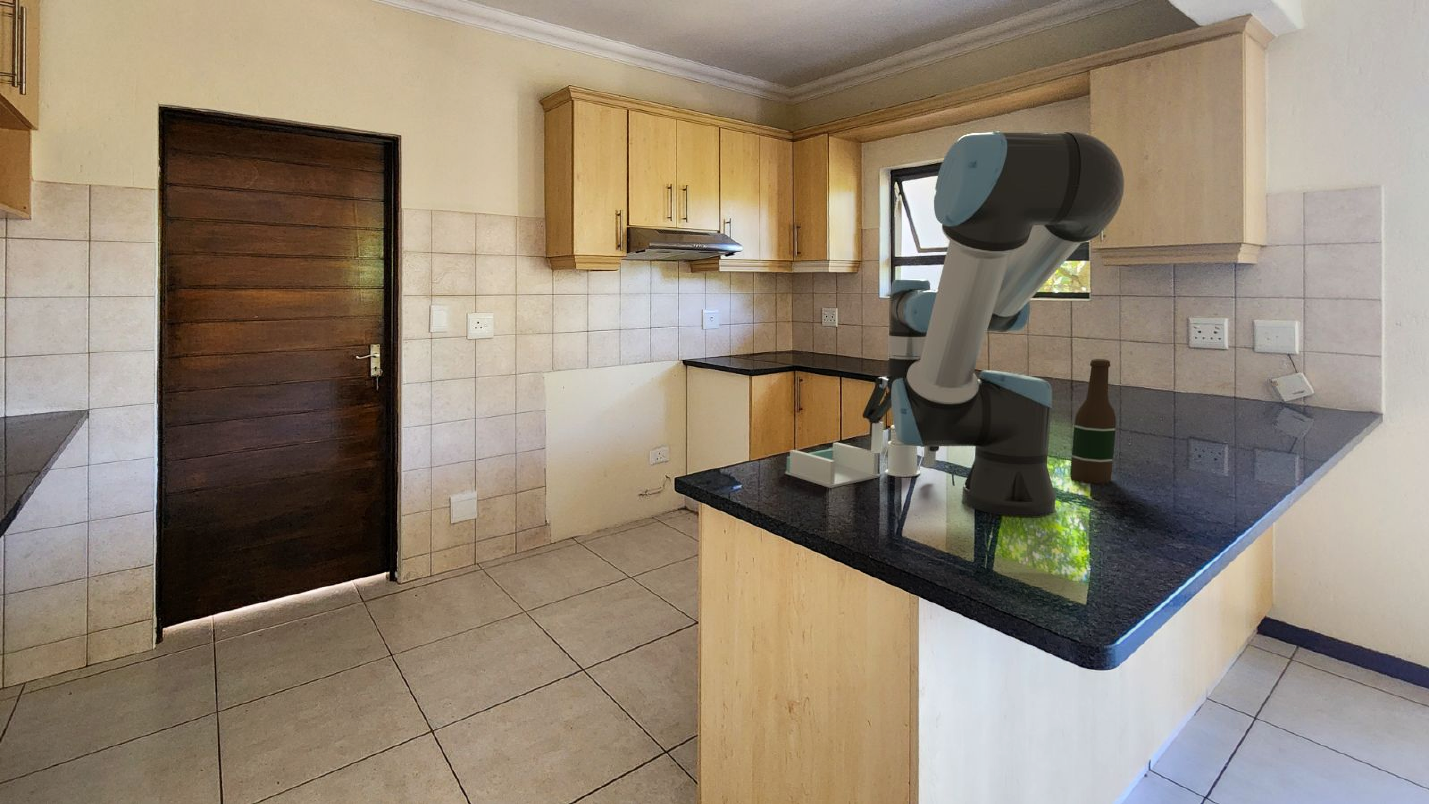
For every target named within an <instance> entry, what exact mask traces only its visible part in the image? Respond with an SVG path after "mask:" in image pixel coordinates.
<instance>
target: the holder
mask: <svg viewBox="0 0 1429 804" xmlns="http://www.w3.org/2000/svg"><path fill="white" fill-rule="evenodd" d="M878 471H879V453H878V452H874V451H871V449H865V448H862V447H856V446H854V445H853V446H852V445H850V444H845V443H841V442H833V443H832V448H828V449H822V450H817V451H812V452H804V451H801V450H796V449H792V450H791V449H790V450H789V456H786V470H785V472H784V473H785V475H789V476H791V477H794V478H799V479H801V480H805V481H808V482H810V483H814V484H817V485H821V486H823V487H826V488H829V489H832V488H837V487H842V486H846V485H850V484H854V483H859V482H860V483H861V482H863V481H868V480H872V479H876V478H880V477H881V474H879V473H878Z"/></svg>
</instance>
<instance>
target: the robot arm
mask: <svg viewBox="0 0 1429 804" xmlns="http://www.w3.org/2000/svg"><path fill="white" fill-rule="evenodd" d="M1124 177H1125V176H1124V172H1123V168H1122V165H1121V163H1120V161H1119V159H1118V156H1117V155H1116V154H1115V152H1114V151H1113V150H1112V149H1111V148H1110V147H1109V146H1108V145H1107V144H1106V143H1105V142H1103V141H1101V140H1100V139H1099V138H1097V137H1095V136H1093V135H1089V134H1087V133H1084V132H1083V133H1082V132H1077V131H1075V132H1073V131H1072V132H1071V131H1065V132H1001V131H998V130H997V131H996V130H992V131H988V132H983V133H970V134H969V133H968V134H966V135H962V136H961V137H960V138H958V139H957V140H956V141H955V142H953V144H952V145H951V146H950V148H949V149H948V151H947V152H946V153H945V156H944V158H943V161H942V162H941V165H940V168H939V170H938V175H937V178H936V182H935V187H934V189H935V195H934V198H933V210H934V217H935V218H936V220H937V221H938V223H940V224H942V225H941V230H942V233H943V235H944V236H945V237H946V239H948V246H947V250H946V253H945V254H946V255H945V258H944V260H943V261H944V263H943V267H942V270H941V274H940V278H939V281H938V282H939V283H938V287H937V289H931V283H930V281H929V279H920V278H919V279H913V278H912V279H910V278H909V279H906V278H905V279H904V278H903V279H901V278H900V279H894V280H893V281H892V282H891V289H890V294H889V304H890V305H889V322H888V323H889V329H888V331H889V332H888V344H887V345H888V346H887V354H888V355H889V356H890V357H888V358H887V367H886V368H887V369H886V373H887V375H888V377H887V376H880V377H876V379H875V381H874V382H875V384H874V388H873V391H872V393H871V395H870V397H869V399H868V401H867V403H866V406H865V408H864V410H863V412H862V418H863V419H867V421H868V422H869V437H870V438H871V448H870V451H874V452H878V454H880V453H883V446H884V445H883V442H884V440H883V439H884V422H883V418H884V417H885V416H886V414H887V413H888V412H889V411H890V410H891V413H892V422H893V425H894V427H895V431H896V435H897V437H898V439H899V441H900V442H901V443H903V444H905V445H911V446H917V447H920V448H923V449H924V450H923V464H922V465H923V466H922V467H923V468H926V469H928V468H931V467H932V468H933V467H935V466H936V458H937V457H936V456H937V454H936V453H937V452H938V451H939V450H940V447H975V450H974V451H975V453H974V454H975V455H974V456H975V457H974V460H973V463H972V465H971V467H970V470H969V472H968V475H967V476H966V479H965V481H964V484H963V485H962V486H963V487H962V492H961V493H962V494H961V501H962V502H963V504H964V505H966V506H968V507H969V508H972V509H974V510H978V511H979V512H980V511H981V512H984V513H989V514H993V515H999V516H1006V517H1015V518H1016V517H1017V518H1036V517H1043V516H1047V515H1050V514H1052V513H1054V512H1055V510H1056V493H1055V490H1054V486H1053V483H1052V479H1051V475H1050V472H1049V468H1048V456H1049V455H1048V453H1049V445H1050V431H1051V420H1052V410H1053V408H1054V407H1053V388H1052V386H1051V384H1050V383H1049V382H1048V381H1047V380H1044V379H1042V378H1038V377H1034V376H1029V375H1023V374H1018V373H1012V372H1004V371H999V370H988V369H987V370H986V369H985V370H981V371H980V372H979V373H980V374H978V376H977V375H976V373H975V369H976V367H977V362H978V360H979V358H980V357H979V356H980V353H981V350H982V348H983V344H984V340H985V339H986V338H985V337H986V334H987V332H998V333H1005V332H1016V331H1020V330H1023V329H1024V327H1025V326H1026V325H1027V323H1028V319H1029V317H1030V313H1031V303H1030V300H1031V299H1032V298H1033V297H1034V296H1035V295H1036V294H1037V293H1038V291H1040V289H1041V288H1042V287H1043V286H1044V285H1045V284H1046V283H1047V282H1048V280H1049V279H1051V277H1052V276H1053V275H1054V274H1055V273H1056V272H1057V270H1058V269H1060V267H1061V266H1062V265H1063V264H1064V263H1065V262H1066V261H1067V259H1068V258H1070V256H1072V254H1073V253H1074V252H1075V251H1076V250H1077V249H1078V247H1079V246H1080V245H1081V244H1083V243H1086V242H1090V241H1092V240H1093V239H1096V238H1097V237H1098V236H1100V234H1101V233H1102V232H1103V231H1104V230H1105V229H1106V228H1107V227H1108V226H1109V225H1110V223H1111V222H1112V220H1114V218H1115V216H1116V214H1117V212H1118V210H1119V208H1120V206H1121V203H1122V200H1123V196H1124V191H1125V190H1124V189H1125V179H1124ZM887 389H888V390H889V391H888V392H887V393H886V391H887ZM885 394H886V395H885ZM883 397H884V399H883Z"/></svg>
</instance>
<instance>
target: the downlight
mask: <svg viewBox="0 0 1429 804" xmlns="http://www.w3.org/2000/svg"><path fill="white" fill-rule="evenodd" d="M886 456H887V469H885V470H884V466H882V469H883V470H884V473H885V474H886V475H888V476H893V477H901V478H904V477H905V478H907V477H908V478H909V477H915V476H919V475H920V474H921V471H920V466H921V464H922V462H923V459H924V450H921V457H920V460H919V463H918V446H911V445H905V444H903V443H901V442H900V441H899V439H898V437H897V435H896V431H895V427H894V424H892V425H890V440H888V441H887V446H886V449H885V453H884V456H883V458H882V463H884V461H885V458H886Z"/></svg>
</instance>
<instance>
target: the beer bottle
mask: <svg viewBox="0 0 1429 804" xmlns="http://www.w3.org/2000/svg"><path fill="white" fill-rule="evenodd" d="M1089 366H1090V374H1089V379H1088V380H1089V382H1088V386H1087V387H1088V388H1087V393H1086V397H1085V399H1084V401H1083V402H1081V404H1080V405H1079V407H1078V409H1077V411H1076V412H1075V413H1076V414H1075V417H1074V422H1073V423H1074V425H1073V433H1072V434H1073V436H1072V446H1071V458H1070V459H1071V460H1070V476H1069V477H1070V479H1071V480H1074V481H1077V482H1080V483H1083V484H1084V483H1085V484H1096V485H1103V484H1110V482H1111V479H1112V473H1113V464H1114V463H1113V462H1114V452H1115V440H1116V428H1117V417H1116V413H1115V409H1114V408H1113V406H1112V404H1111V402H1110V401H1109V368H1110V367H1111V362H1110V360H1109V359H1104V358H1103V359H1101V358H1093V359H1091V361H1090V362H1089Z"/></svg>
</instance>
